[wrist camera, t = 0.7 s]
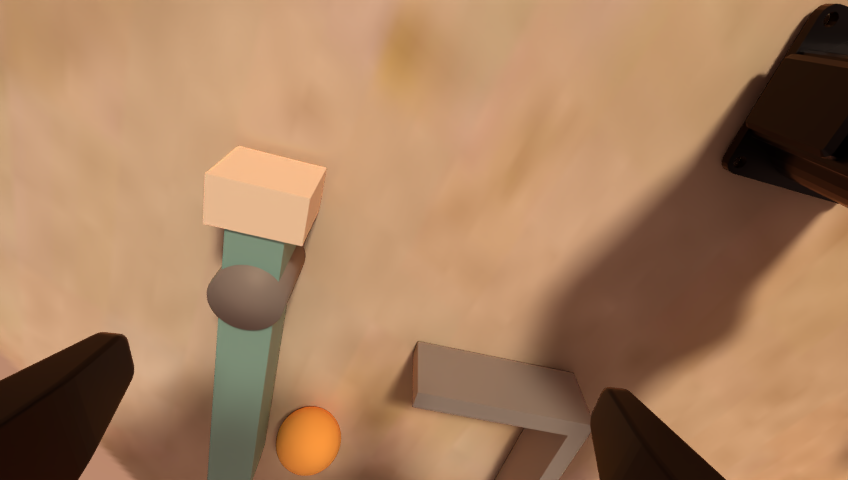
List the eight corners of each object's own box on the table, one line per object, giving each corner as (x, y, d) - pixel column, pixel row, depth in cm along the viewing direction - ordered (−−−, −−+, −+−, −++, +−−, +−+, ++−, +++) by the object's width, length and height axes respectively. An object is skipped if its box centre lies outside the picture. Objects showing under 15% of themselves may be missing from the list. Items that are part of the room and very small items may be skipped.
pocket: (573, 373, 25) (595, 425, 22) (490, 514, 31) (497, 570, 28) (417, 341, 24) (417, 392, 21) (364, 494, 30) (358, 551, 27)
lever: (242, 141, 18) (203, 174, 15) (328, 163, 19) (309, 200, 16) (219, 426, 27) (190, 487, 23) (279, 436, 27) (260, 497, 24)
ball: (350, 399, 26) (340, 454, 23) (339, 438, 27) (329, 493, 24) (289, 388, 25) (271, 442, 22) (282, 428, 27) (264, 484, 24)
